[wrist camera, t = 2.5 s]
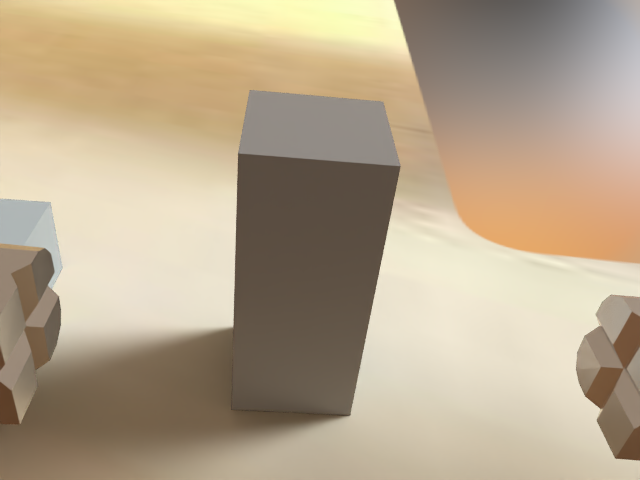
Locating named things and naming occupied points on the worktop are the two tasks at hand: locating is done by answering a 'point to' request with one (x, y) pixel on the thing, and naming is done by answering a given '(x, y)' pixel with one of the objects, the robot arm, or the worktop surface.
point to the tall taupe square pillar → (308, 248)
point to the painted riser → (30, 228)
